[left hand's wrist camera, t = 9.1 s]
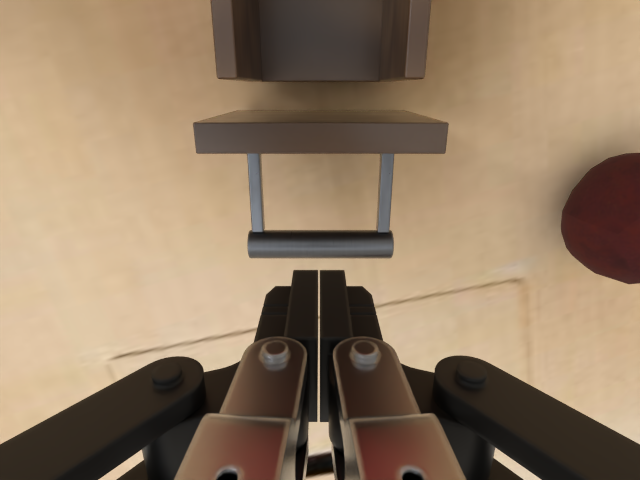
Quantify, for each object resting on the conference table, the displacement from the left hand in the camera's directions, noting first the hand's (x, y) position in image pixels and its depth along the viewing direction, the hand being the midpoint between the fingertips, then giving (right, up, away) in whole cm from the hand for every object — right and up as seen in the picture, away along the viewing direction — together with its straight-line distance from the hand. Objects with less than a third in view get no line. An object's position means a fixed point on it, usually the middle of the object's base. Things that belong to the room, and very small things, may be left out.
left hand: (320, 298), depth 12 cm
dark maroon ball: (+18, +4, +15) cm, 24 cm away
